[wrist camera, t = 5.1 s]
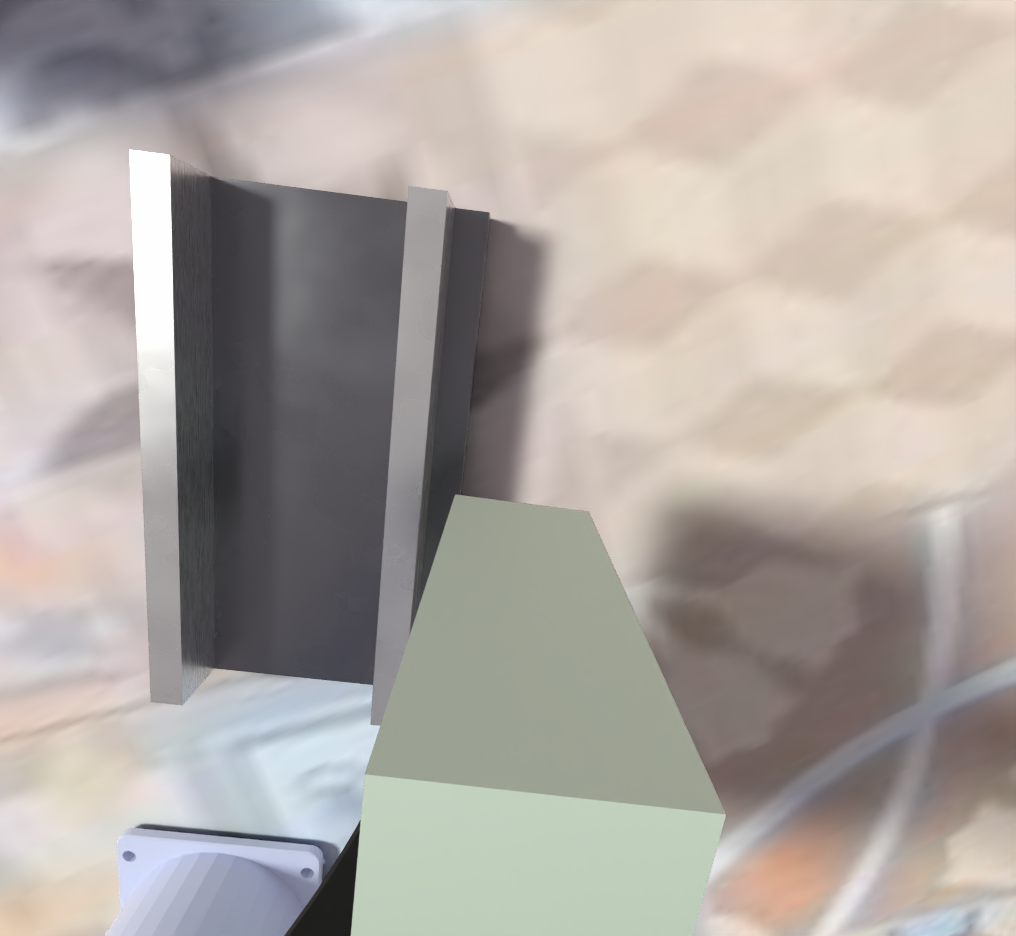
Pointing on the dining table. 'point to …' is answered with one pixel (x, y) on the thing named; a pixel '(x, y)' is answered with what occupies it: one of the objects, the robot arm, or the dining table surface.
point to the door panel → (531, 750)
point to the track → (296, 419)
